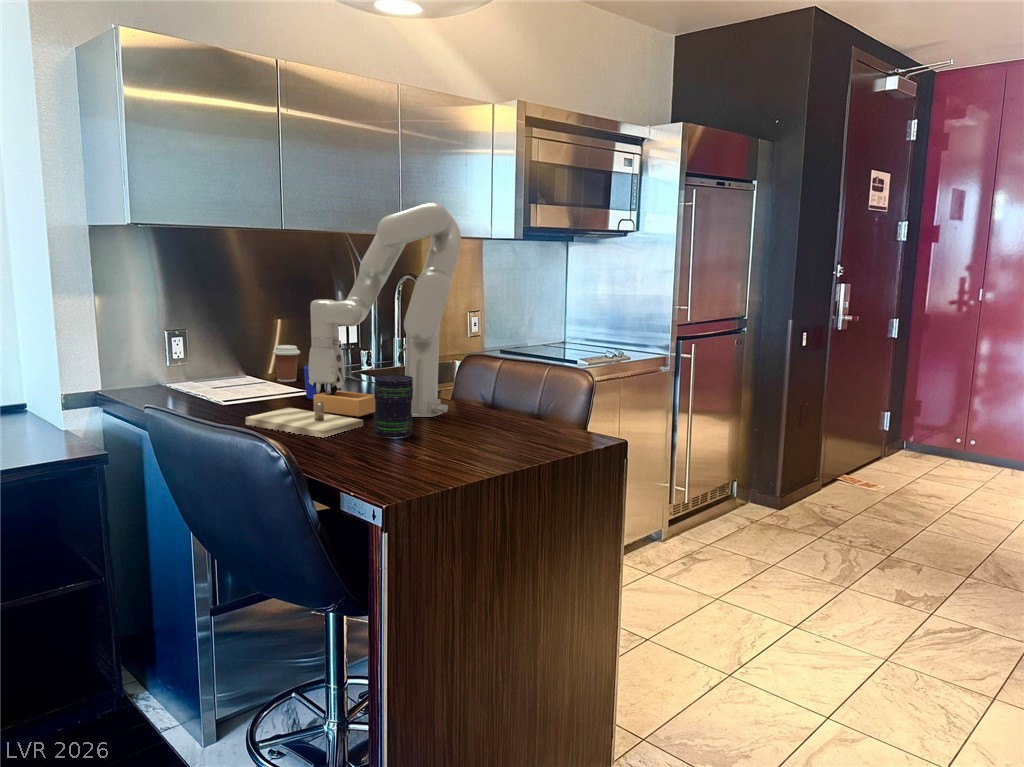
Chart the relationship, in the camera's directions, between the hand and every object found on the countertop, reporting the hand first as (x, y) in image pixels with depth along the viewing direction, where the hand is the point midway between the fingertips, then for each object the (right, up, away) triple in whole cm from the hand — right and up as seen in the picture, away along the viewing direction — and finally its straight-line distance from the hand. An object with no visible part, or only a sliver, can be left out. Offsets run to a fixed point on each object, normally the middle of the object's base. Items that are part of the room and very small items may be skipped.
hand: (327, 406), depth 218 cm
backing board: (-1, -5, -18) cm, 19 cm away
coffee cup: (-26, +8, +48) cm, 55 cm away
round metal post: (+3, -3, -19) cm, 20 cm away
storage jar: (+23, -7, -23) cm, 33 cm away
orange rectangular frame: (+6, -1, -3) cm, 7 cm away
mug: (-5, +1, +18) cm, 19 cm away
